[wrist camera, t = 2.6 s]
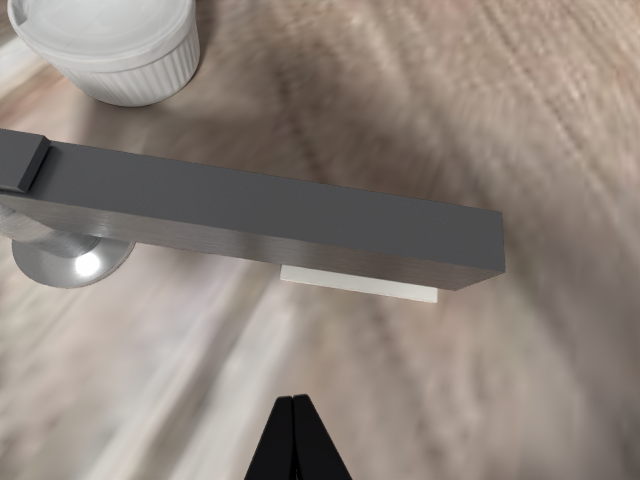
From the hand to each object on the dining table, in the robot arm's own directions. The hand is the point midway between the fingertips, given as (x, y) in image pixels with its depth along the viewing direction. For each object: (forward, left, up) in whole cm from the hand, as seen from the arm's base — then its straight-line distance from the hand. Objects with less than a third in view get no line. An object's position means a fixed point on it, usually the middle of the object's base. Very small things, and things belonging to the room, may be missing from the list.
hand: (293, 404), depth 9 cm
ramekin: (+16, -21, -11) cm, 28 cm away
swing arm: (+5, -7, -5) cm, 10 cm away
